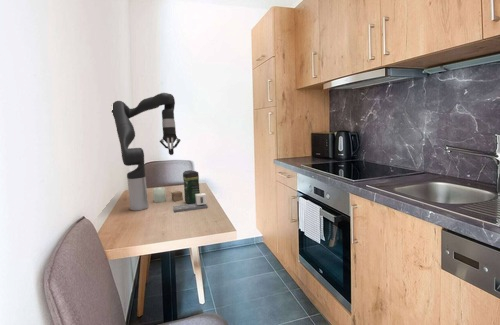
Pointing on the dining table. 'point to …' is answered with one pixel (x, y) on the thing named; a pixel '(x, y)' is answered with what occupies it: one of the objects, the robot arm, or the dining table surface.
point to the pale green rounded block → (159, 194)
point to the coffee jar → (191, 186)
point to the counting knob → (201, 199)
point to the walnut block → (177, 196)
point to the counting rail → (188, 207)
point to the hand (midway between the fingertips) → (171, 154)
